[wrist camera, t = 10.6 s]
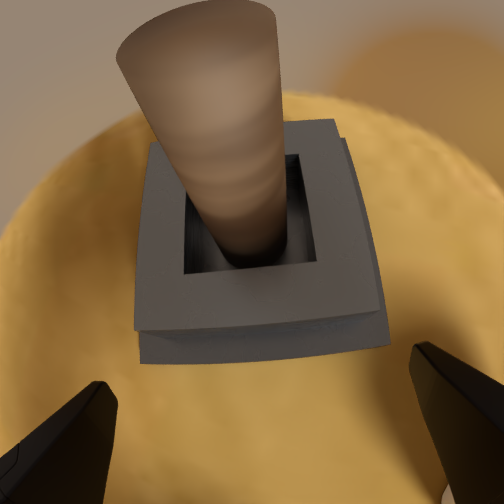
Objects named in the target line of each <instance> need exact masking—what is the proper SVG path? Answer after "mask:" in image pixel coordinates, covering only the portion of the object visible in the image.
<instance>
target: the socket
mask: <svg viewBox="0 0 504 504" xmlns="http://www.w3.org/2000/svg"><path fill="white" fill-rule="evenodd" d="M283 127H284V147H285V170H286V199H287V245H286V248H285V251H284V253H283V255H282V256H281V257H280V258H279V260H278V261H277V262H275V263H274V264H273V265H271V266H268V267H258V268H248V269H238V268H236V267H234V266H233V265H231V264H230V263H229V262H228V261H227V260H226V259H225V258H224V256H223V255H222V253H221V251H220V249H219V248H218V246H217V244H216V242H215V241H214V239H213V237H212V236H211V234H210V232H209V230H208V229H207V227H206V225H205V223H204V222H203V220H202V218H201V216H200V215H199V213H198V211H197V209H196V208H195V206H194V204H193V202H192V201H191V199H190V197H189V195H188V193H187V192H186V190H185V188H184V186H183V184H182V183H181V181H180V179H179V177H178V176H177V174H176V172H175V170H174V168H173V167H172V165H171V163H170V161H169V159H168V157H167V156H166V154H165V152H164V150H163V148H162V146H161V145H160V143H159V141H158V142H153V143H151V144H150V150H149V156H148V163H147V169H146V176H145V183H144V190H143V198H142V207H141V216H140V226H139V236H138V248H137V262H136V280H135V306H134V331H138V332H140V364H224V363H244V362H259V361H272V360H284V359H294V358H303V357H312V356H320V355H328V354H336V353H343V352H349V351H356V350H362V349H368V348H374V347H380V346H385V345H389V344H391V342H390V334H389V326H388V319H387V312H386V306H385V299H384V293H383V288H382V282H381V277H380V271H379V266H378V261H377V256H376V251H375V247H374V242H373V238H372V233H371V229H370V225H369V220H368V216H367V212H366V208H365V204H364V201H363V197H362V193H361V189H360V186H359V182H358V179H357V175H356V172H355V168H354V165H353V162H352V158H351V155H350V152H349V149H348V146H347V143H346V140H345V138H340V136H339V133H338V130H337V127H336V123H335V121H334V119H318V120H302V121H290V122H283Z"/></svg>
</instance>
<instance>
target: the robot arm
mask: <svg viewBox="0 0 504 504" xmlns="http://www.w3.org/2000/svg"><path fill="white" fill-rule="evenodd" d="M409 371H410V375H411V378H412V381H413V384H414V388H415V391H416V394H417V398H418V401H419V405H420V408H421V411H422V414H423V417H424V420H425V422H426V425H427V427H428V430H429V432H430V435H431V437H432V440H433V442H434V445H435V447H436V450H437V453H438V455H439V458H440V461H441V463H442V466H443V469H444V472H445V475H446V477H447V480H448V483H449V486H450V489H451V492H452V495H453V499H454V502H455V504H504V385H502V384H501V383H499V382H497V381H496V380H494V379H492V378H490V377H489V376H487V375H485V374H484V373H482V372H480V371H478V370H477V369H475V368H473V367H472V366H470V365H468V364H467V363H465V362H463V361H461V360H460V359H458V358H456V357H455V356H453V355H451V354H449V353H448V352H446V351H444V350H442V349H441V348H439V347H437V346H436V345H434V344H432V343H430V342H428V341H423V342H419V343H416V344H414V346H413V348H412V353H411V357H410V362H409ZM117 409H118V401H117V398H116V396H115V395H114V393H113V392H112V390H111V389H110V387H109V386H108V384H107V383H106V382H104V381H93V382H91V383H90V384H89V385H88V386H87V387H85V388H84V389H83V390H82V391H81V392H79V393H78V394H77V395H76V396H75V397H73V398H72V399H71V400H70V401H68V402H67V403H66V404H65V405H64V406H62V407H61V408H60V409H59V410H58V411H56V412H55V413H54V414H53V415H52V416H50V417H49V418H48V419H47V420H46V421H44V422H43V423H42V424H41V425H40V426H38V427H37V428H36V429H35V430H34V431H32V432H31V433H30V434H29V435H28V436H26V437H25V438H24V439H23V440H22V441H20V443H18V444H17V445H16V446H14V447H13V448H12V449H11V450H9V451H8V452H7V453H6V454H4V455H3V456H2V457H0V504H103V500H104V493H105V487H106V482H107V476H108V471H109V465H110V460H111V455H112V450H113V444H114V436H115V426H116V417H117Z"/></svg>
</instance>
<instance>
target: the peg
mask: <svg viewBox="0 0 504 504" xmlns="http://www.w3.org/2000/svg"><path fill="white" fill-rule="evenodd" d="M116 61H117V64H118V65H119V67H120V69H121V71H122V73H123V75H124V77H125V79H126V81H127V83H128V85H129V87H130V89H131V90H132V92H133V94H134V96H135V98H136V100H137V102H138V104H139V106H140V108H141V109H142V111H143V113H144V115H145V117H146V119H147V121H148V123H149V124H150V126H151V128H152V130H153V132H154V134H155V135H156V137H157V139H158V141H159V143H160V145H161V146H162V148H163V150H164V152H165V154H166V156H167V157H168V159H169V161H170V163H171V165H172V167H173V168H174V170H175V172H176V174H177V176H178V177H179V179H180V181H181V183H182V184H183V186H184V188H185V190H186V192H187V193H188V195H189V197H190V199H191V201H192V202H193V204H194V206H195V208H196V209H197V211H198V213H199V215H200V216H201V218H202V220H203V222H204V223H205V225H206V227H207V229H208V230H209V232H210V234H211V236H212V237H213V239H214V241H215V242H216V244H217V246H218V248H219V249H220V251H221V253H222V255H223V256H224V258H225V259H226V260H227V261H228V262H229V263H230V264H231V265H233V266H234V267H236V268H238V269H248V268H258V267H268V266H271V265H273V264H274V263H275V262H277V261H278V260H279V258H280V257H281V256H282V255H283V253H284V251H285V248H286V245H287V199H286V170H285V147H284V127H283V109H282V92H281V77H280V64H279V50H278V38H277V26H276V17H275V14H274V13H273V11H272V10H271V9H270V8H268V7H267V6H265V5H263V4H260V3H257V2H254V1H249V0H208V1H202V2H197V3H193V4H189V5H185V6H182V7H179V8H176V9H173V10H170V11H168V12H166V13H164V14H161V15H159V16H157V17H155V18H153V19H152V20H150V21H148V22H146V23H145V24H143V25H142V26H140V27H139V28H137V29H136V30H135V31H134V32H133V33H131V34H130V35H129V36H128V37H127V38H126V39H125V40H124V41H123V43H122V44H121V46H120V47H119V49H118V51H117V54H116Z"/></svg>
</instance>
